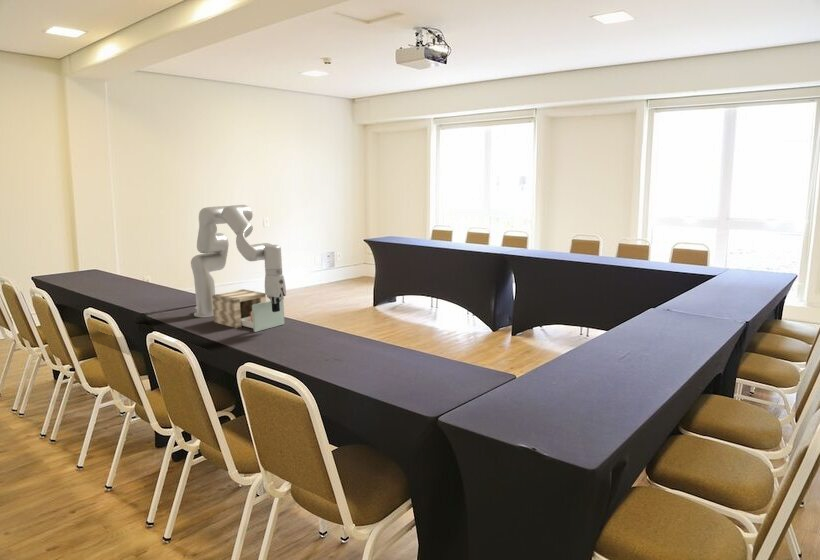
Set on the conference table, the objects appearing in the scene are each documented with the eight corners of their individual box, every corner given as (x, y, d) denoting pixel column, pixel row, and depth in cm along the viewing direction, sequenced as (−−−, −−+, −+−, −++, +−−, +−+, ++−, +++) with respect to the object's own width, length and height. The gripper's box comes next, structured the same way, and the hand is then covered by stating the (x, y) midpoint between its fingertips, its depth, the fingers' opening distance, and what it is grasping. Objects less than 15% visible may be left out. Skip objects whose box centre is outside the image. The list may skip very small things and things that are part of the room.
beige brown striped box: (214, 322, 282) (212, 295, 279) (245, 314, 296) (243, 289, 293) (236, 328, 271) (234, 300, 268) (267, 320, 285) (265, 293, 282)
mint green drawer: (232, 326, 273) (230, 300, 271) (261, 318, 286) (260, 294, 284) (255, 331, 263) (253, 305, 260) (284, 323, 276) (283, 298, 273)
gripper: (291, 272, 259) (293, 312, 263) (270, 269, 269) (272, 307, 272) (277, 275, 254) (280, 315, 257) (256, 271, 263) (259, 310, 266)
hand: (276, 311), depth 264 cm, fingers closed
